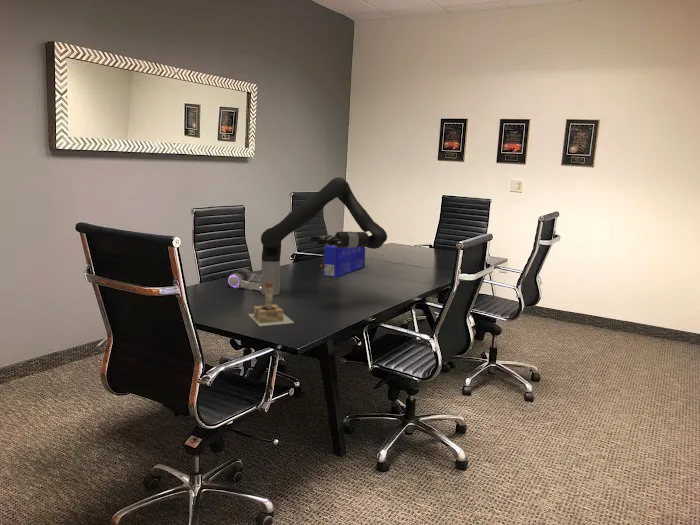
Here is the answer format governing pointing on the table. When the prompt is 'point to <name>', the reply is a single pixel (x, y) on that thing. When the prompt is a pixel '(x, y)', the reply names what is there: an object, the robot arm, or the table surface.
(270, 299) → the peg
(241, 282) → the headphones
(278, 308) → the wooden square frame
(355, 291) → the table surface
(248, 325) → the table surface
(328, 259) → the toner cartridge box
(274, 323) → the mat
